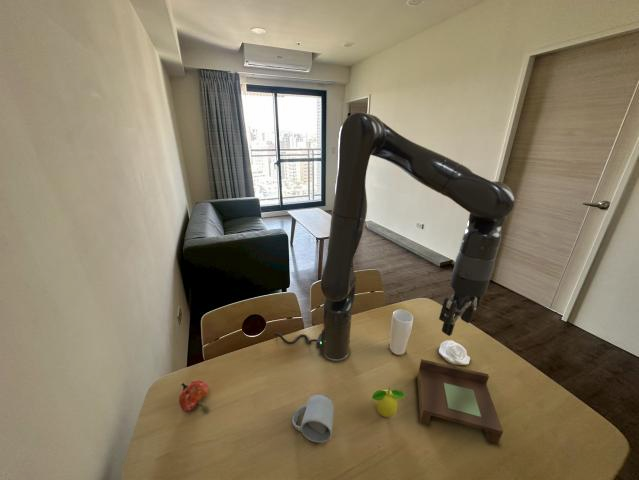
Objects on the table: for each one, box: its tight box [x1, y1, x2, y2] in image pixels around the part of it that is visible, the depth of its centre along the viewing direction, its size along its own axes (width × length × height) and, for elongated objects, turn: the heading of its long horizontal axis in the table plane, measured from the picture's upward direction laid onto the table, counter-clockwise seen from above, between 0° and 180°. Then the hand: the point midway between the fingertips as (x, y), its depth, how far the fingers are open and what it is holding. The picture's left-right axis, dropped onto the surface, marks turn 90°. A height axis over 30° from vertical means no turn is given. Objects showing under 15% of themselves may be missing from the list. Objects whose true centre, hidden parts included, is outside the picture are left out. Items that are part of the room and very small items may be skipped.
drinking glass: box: [389, 309, 414, 356], centre depth 87 cm, size 7×7×15 cm
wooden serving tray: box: [416, 358, 504, 445], centre depth 69 cm, size 18×14×8 cm
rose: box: [438, 339, 471, 366], centre depth 87 cm, size 10×4×10 cm
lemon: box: [371, 387, 406, 418], centre depth 67 cm, size 7×6×10 cm
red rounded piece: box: [178, 380, 210, 412], centre depth 69 cm, size 7×7×10 cm
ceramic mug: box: [291, 393, 335, 444], centre depth 64 cm, size 11×8×8 cm
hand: (456, 326), depth 64 cm, fingers open, 8 cm apart
